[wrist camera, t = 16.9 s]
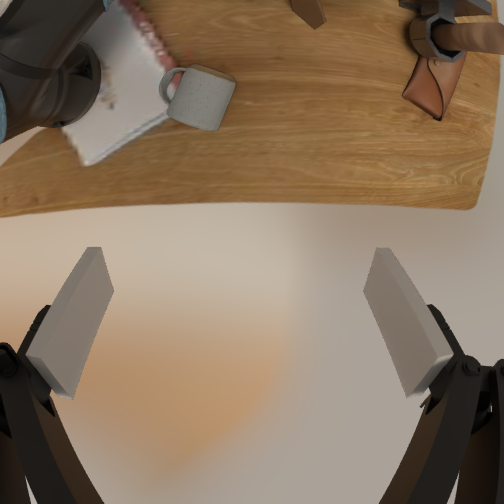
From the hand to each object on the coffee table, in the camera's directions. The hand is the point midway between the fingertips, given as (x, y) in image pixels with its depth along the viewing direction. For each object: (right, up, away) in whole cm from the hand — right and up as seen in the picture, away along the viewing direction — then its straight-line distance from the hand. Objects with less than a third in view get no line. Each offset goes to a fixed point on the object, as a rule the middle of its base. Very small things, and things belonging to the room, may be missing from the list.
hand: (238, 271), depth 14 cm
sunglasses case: (+31, +32, +22) cm, 50 cm away
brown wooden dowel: (+27, +33, +16) cm, 46 cm away
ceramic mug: (-7, +24, +25) cm, 36 cm away
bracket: (+28, +38, +17) cm, 50 cm away
